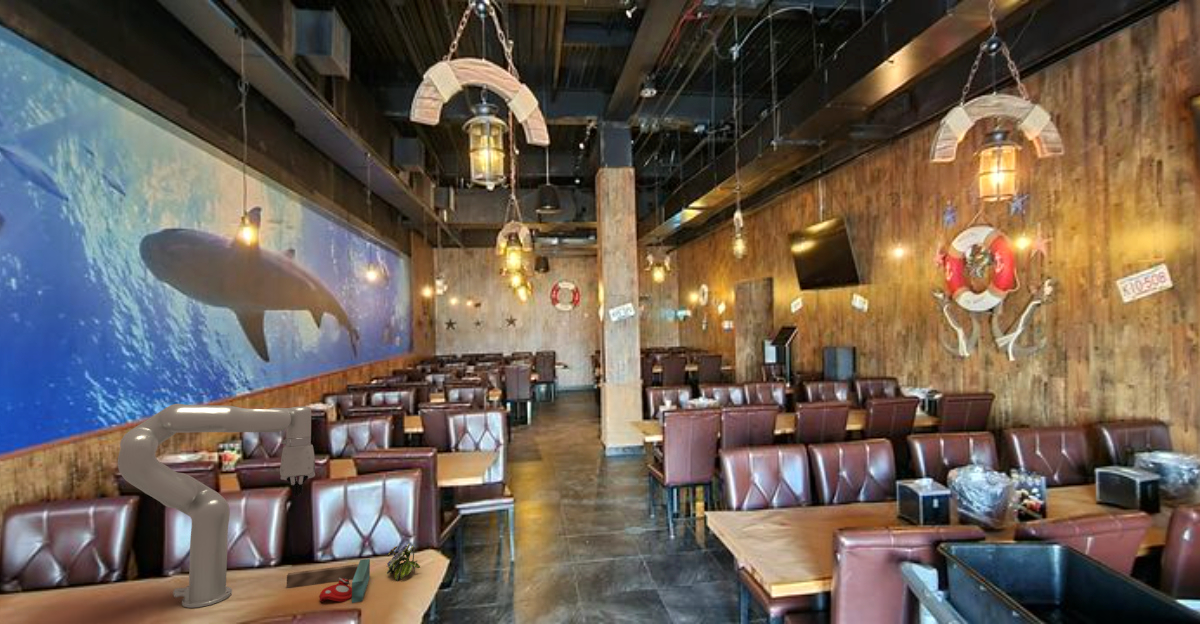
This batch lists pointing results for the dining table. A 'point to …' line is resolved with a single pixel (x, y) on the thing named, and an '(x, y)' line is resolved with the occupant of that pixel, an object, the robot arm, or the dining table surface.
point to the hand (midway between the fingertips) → (297, 495)
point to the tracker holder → (337, 592)
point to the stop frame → (335, 577)
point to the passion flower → (405, 566)
